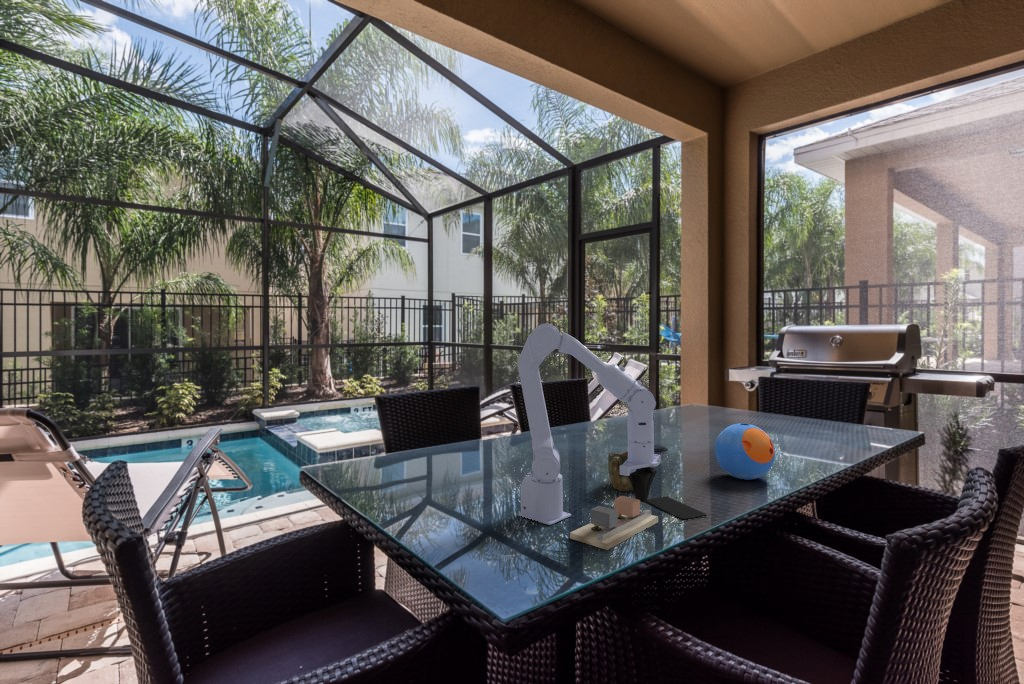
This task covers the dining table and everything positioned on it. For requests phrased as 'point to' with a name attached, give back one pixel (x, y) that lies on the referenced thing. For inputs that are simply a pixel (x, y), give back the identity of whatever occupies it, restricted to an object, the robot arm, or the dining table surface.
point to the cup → (614, 471)
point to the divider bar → (623, 525)
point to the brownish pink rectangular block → (627, 506)
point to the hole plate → (590, 536)
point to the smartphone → (675, 508)
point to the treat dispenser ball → (744, 451)
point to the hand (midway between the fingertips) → (641, 500)
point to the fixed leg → (604, 517)
